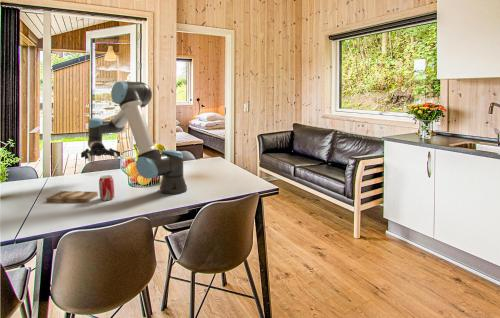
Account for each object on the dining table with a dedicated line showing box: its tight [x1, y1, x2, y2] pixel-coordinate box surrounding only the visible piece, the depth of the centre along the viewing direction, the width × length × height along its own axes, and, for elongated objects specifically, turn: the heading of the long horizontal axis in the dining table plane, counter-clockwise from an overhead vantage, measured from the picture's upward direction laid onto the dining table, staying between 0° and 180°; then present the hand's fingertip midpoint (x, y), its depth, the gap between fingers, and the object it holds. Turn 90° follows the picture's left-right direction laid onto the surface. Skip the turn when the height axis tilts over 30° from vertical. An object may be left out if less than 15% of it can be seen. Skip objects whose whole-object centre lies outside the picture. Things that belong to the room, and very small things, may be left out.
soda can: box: [98, 174, 115, 201], centre depth 180 cm, size 7×7×12 cm
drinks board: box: [46, 190, 99, 204], centre depth 181 cm, size 20×13×2 cm, turn 90°
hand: (103, 158), depth 187 cm, fingers open, 13 cm apart
